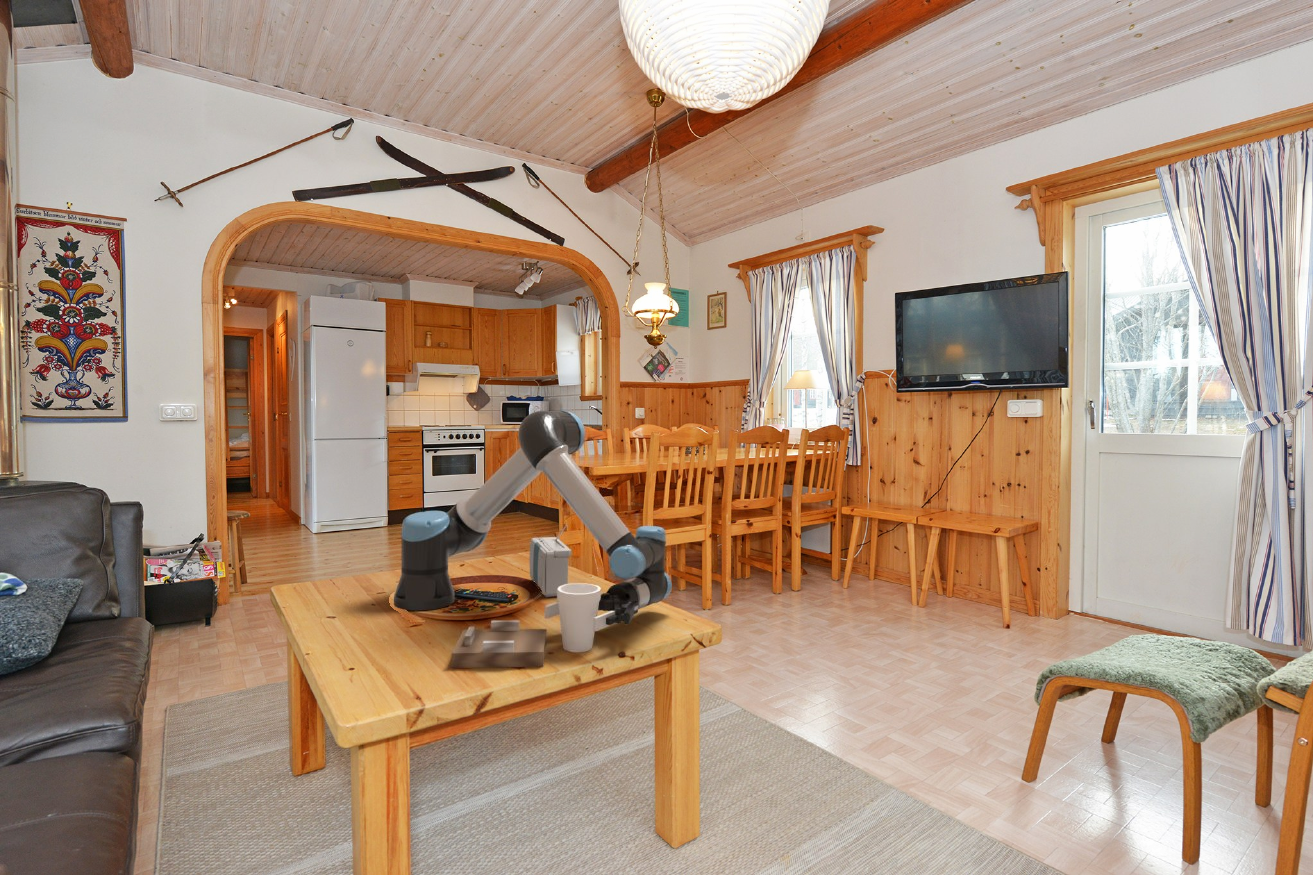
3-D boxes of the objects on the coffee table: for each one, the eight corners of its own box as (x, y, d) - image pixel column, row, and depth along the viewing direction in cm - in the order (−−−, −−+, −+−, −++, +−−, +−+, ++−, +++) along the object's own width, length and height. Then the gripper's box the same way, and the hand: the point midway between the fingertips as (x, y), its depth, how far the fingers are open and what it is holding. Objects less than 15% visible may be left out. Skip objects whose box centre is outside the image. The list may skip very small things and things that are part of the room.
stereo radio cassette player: (528, 580, 206) (529, 514, 205) (555, 578, 208) (556, 513, 208) (541, 599, 186) (543, 526, 185) (571, 597, 189) (573, 525, 188)
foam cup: (608, 647, 150) (609, 589, 149) (576, 658, 143) (577, 596, 142) (579, 637, 156) (580, 580, 156) (547, 646, 149) (548, 588, 149)
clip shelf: (451, 668, 136) (451, 643, 135) (463, 643, 150) (463, 620, 150) (543, 666, 138) (543, 642, 138) (546, 642, 152) (546, 620, 152)
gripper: (670, 622, 158) (615, 647, 140) (586, 603, 171) (526, 624, 154) (671, 590, 158) (616, 611, 140) (587, 573, 171) (527, 591, 153)
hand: (569, 618), depth 147 cm, fingers open, 13 cm apart
